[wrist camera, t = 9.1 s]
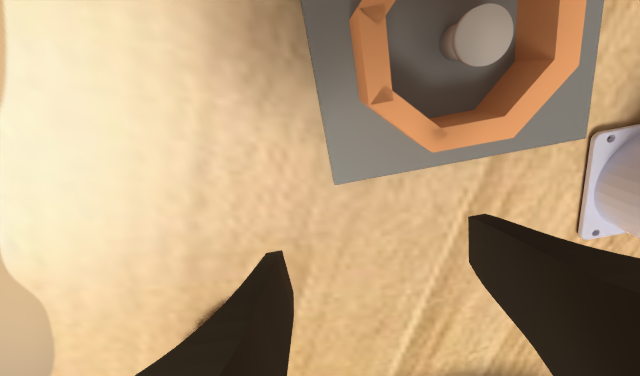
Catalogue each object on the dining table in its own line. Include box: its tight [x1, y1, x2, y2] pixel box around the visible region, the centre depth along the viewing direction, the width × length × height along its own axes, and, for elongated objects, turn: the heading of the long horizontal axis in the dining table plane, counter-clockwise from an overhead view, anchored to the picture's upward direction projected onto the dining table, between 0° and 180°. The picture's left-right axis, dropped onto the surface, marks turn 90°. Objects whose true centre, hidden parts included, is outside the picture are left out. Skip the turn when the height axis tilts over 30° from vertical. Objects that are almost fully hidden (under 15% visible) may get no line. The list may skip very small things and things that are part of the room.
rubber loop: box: [349, 0, 587, 153], centre depth 15 cm, size 10×10×3 cm
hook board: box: [301, 0, 604, 185], centre depth 16 cm, size 16×14×4 cm
